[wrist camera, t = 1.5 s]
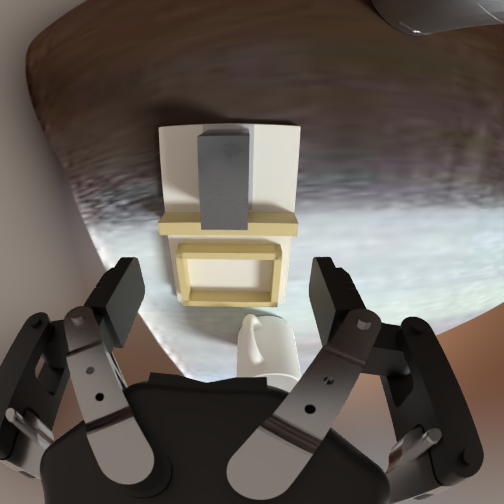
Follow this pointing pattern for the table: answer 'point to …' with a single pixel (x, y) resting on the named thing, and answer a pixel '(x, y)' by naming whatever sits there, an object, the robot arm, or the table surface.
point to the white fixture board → (231, 241)
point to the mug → (268, 351)
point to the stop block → (223, 178)
